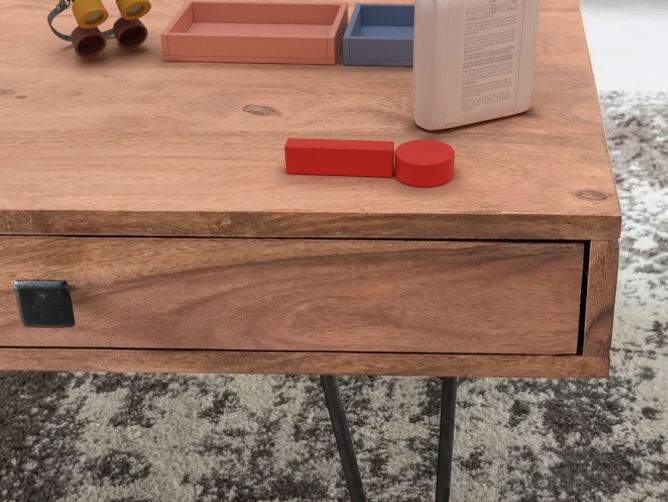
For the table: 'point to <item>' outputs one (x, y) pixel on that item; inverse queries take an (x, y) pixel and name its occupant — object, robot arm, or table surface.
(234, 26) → the coral tray
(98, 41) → the binoculars
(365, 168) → the red spoon
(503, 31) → the white plastic bottle
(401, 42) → the blue tray
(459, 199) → the table surface
